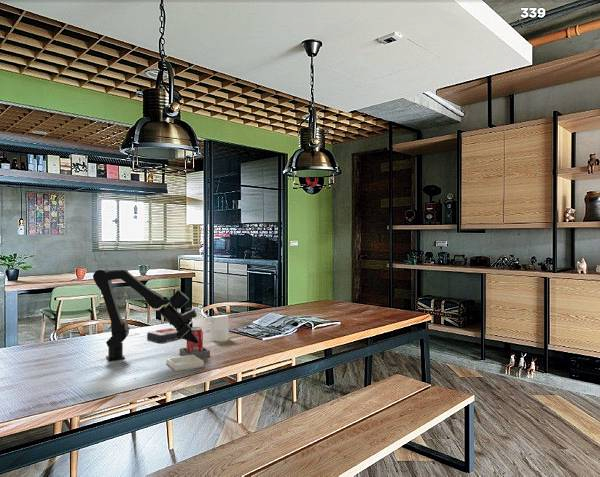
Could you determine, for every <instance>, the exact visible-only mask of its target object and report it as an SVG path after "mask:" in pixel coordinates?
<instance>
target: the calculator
mask: <svg viewBox="0 0 600 477" xmlns="http://www.w3.org/2000/svg"><path fill="white" fill-rule="evenodd" d="M146 339H148V341H151V340H152V341H151V342H155V341H156V343H159V344H160V343H165V342H168V341H172V340H173V341H174V340H178V339H179V338H178V337H177V331H176V328H166V329H159V330H154V331H148V332H147V333H146Z"/></svg>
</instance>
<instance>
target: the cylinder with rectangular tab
mask: <svg viewBox="0 0 600 477" xmlns="http://www.w3.org/2000/svg"><path fill="white" fill-rule="evenodd" d="M228 340H229V315H228V314H220V315H212V316H210V341H212V342H226V341H228Z"/></svg>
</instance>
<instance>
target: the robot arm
mask: <svg viewBox="0 0 600 477" xmlns="http://www.w3.org/2000/svg"><path fill="white" fill-rule="evenodd" d="M92 278H93V282H94V283H95V285H96V286H97V288H98V289H99V291H100V292H101V295H102V298H103V301H104V304H105V308H106V310H107V314H108V316H109V320H110V322H111V323H110V327H111V328H110V331H111V336H110V338H108V339H107V341H106V346H107V347H108V349H107V350H108V351H107V353H108V354H107V355H106V356H105V357H106V359H107V360H108V361H109V362H111V361H117V360H124V359H126V357H125V356H124V354H123V353H124V352H123V350H124V349H123V348H124V345H123V342H124V341H125V340H126V338H127V337H128V336H129V333H130V330H131V329H130V327H129V325H128V324H129V323H128V320H125V321H124V320H123V319H122V317H121V313H120V310H119V307H118V304H117V300H116V298H115V295H114V294H115V293H114V291H113V289H112V288H113V286H112V282H113V281H114V280H122V281H123V282H124V283H125V284H126V285H128V286H129V287H130V288H132V289H133V290H134V291H135V292H136V293H137V294H139V295H140V296H141V297H142V298H143V299H144V300H145V303H147V304H148V306H150V308H152V309H154V310H155V309H156V310H155V317H156V318H158V317H159V316H160V315H161V316H162V317H163V318H164V319H165V320H166V322H168V323H169V325H170V326H172V327H174V329H176V331H177V337H178V338H179V339H181V340H185V341H187V340H188V341H191V342H194V343H198V340H197V339H196V337H195V336H194V335H193V333H192V332H191V329H192V328H191V327H194V326H193V320H192V319H194V318H197V316H198V314H197V312H196V310H195V308H192V307H188V308H187V309H186V311H185V312H184V313H182V312H179V311H177V309H179V310H181V309H182V308H183V307H184V306H185V305H186V304H187V303H188V302H189V301H190V298H189V297H188V296H187V294H186V293H184V292H182V291H181V290H180V289H177V290H176V291H175V292H174V294H172V295H171V297H170V296H163V295H162V294H161V293H158V292H157V291H155V290H153V289H151V288H149V287H148V286H146V285H145V284H144V283H143V282H142V281H140V280H139V279H137V277H135V276H134V275H133V274H131V273H130V272H129V270H127V269H125V268H123V269H112V270H109V269H107V268H101V269H98V270H96V271H95V272H94V273H93V274H92Z"/></svg>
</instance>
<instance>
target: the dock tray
mask: <svg viewBox="0 0 600 477" xmlns="http://www.w3.org/2000/svg"><path fill="white" fill-rule="evenodd" d="M165 363H166V365H167V366H168V367H170V368H171V369H172V370H173V371H175V372H181V371H186V370H187V371H188V370H193V369H194V370H195V369H197V368H204V367H205V366H204V365H205V364H204V360H203V359H201V358H198V357H196V356H195V355H187V356H182V355H180V356H175V357H170V358H169V357H167V358H166V362H165Z"/></svg>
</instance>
